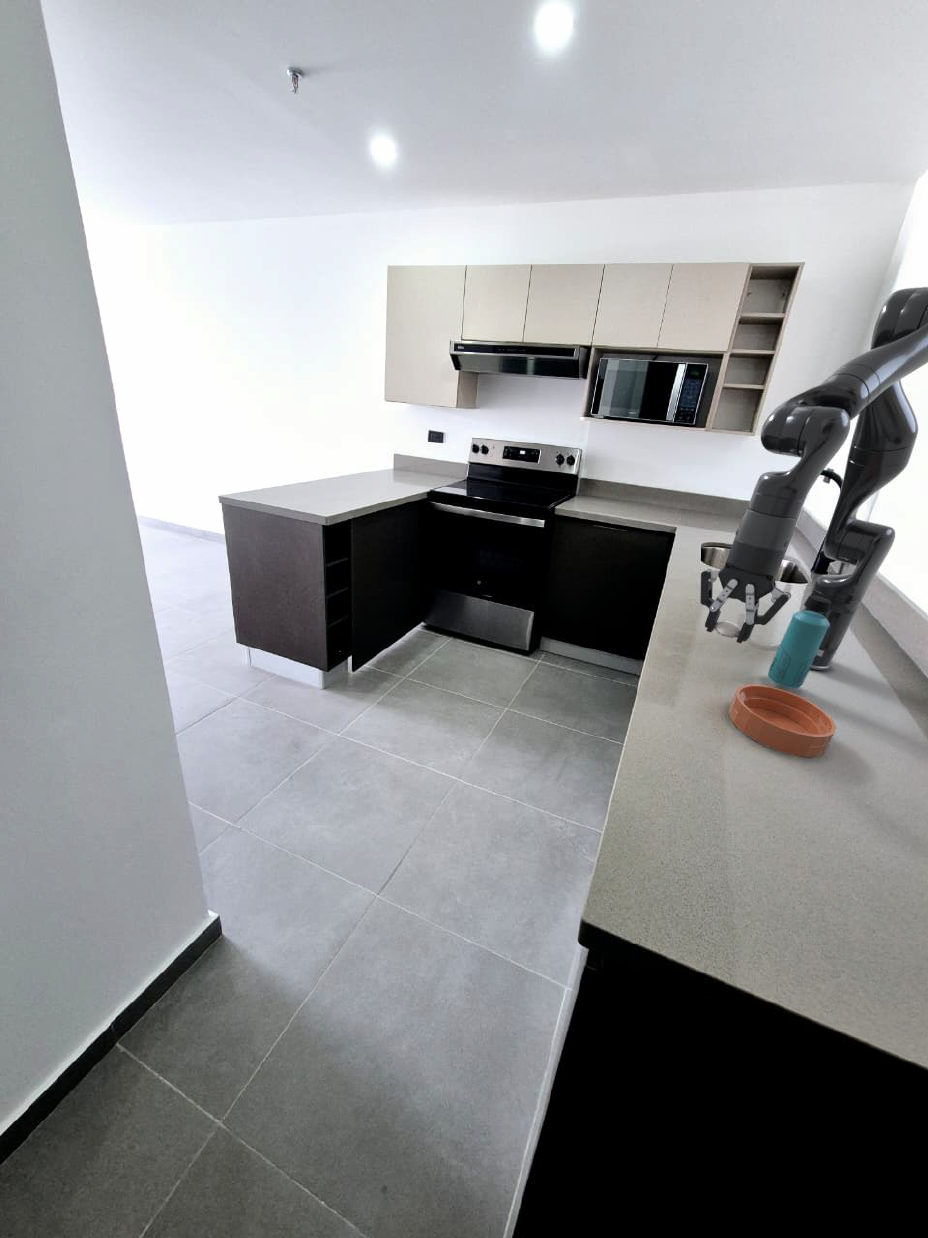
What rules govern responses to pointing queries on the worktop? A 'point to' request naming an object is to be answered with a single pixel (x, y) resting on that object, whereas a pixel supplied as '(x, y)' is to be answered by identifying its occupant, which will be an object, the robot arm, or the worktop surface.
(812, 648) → the beverage bottle
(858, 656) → the worktop surface
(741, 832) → the worktop surface
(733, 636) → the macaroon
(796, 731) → the bowl
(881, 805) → the worktop surface
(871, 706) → the worktop surface
